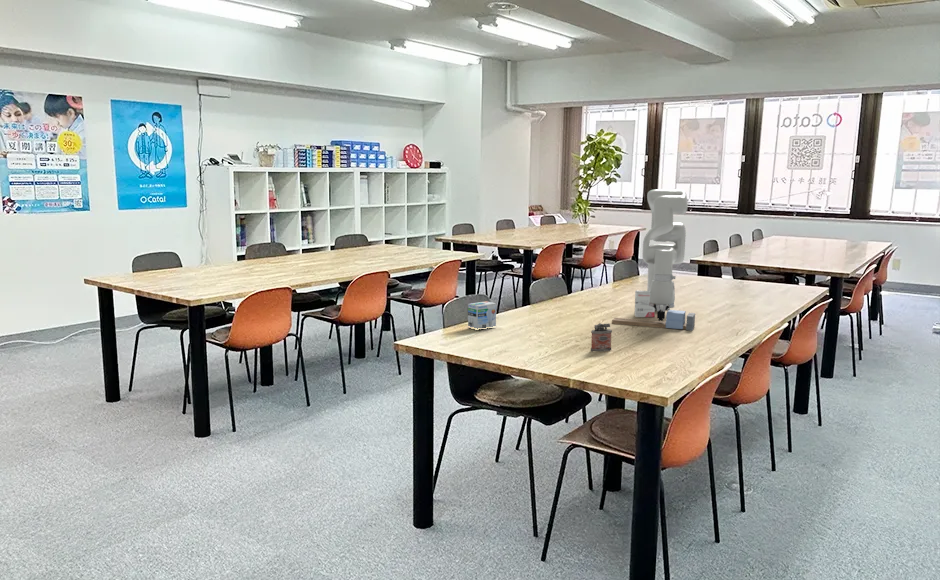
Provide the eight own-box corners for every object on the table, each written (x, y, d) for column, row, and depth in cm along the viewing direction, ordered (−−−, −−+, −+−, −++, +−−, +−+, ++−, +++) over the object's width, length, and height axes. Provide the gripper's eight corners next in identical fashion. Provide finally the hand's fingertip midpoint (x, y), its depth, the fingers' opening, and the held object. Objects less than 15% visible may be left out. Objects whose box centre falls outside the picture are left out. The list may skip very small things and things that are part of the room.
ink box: (652, 315, 328) (653, 290, 326) (654, 317, 323) (655, 291, 321) (633, 315, 329) (634, 289, 327) (635, 317, 324) (636, 291, 322)
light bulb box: (477, 331, 292) (477, 305, 290) (467, 328, 297) (467, 303, 295) (496, 328, 299) (497, 302, 297) (486, 325, 304) (486, 300, 302)
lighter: (593, 352, 257) (593, 325, 256) (589, 349, 260) (589, 323, 259) (613, 350, 259) (614, 324, 258) (608, 348, 263) (609, 322, 261)
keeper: (668, 324, 306) (669, 309, 305) (685, 325, 303) (685, 310, 302) (665, 327, 299) (666, 312, 298) (682, 329, 296) (683, 314, 295)
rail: (615, 320, 315) (615, 307, 314) (694, 327, 302) (695, 313, 301) (611, 323, 308) (611, 310, 307) (692, 330, 295) (693, 316, 294)
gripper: (682, 278, 301) (679, 320, 304) (646, 276, 307) (644, 317, 310) (679, 280, 294) (677, 323, 297) (643, 278, 300) (641, 320, 303)
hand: (660, 320), depth 303 cm, fingers closed
